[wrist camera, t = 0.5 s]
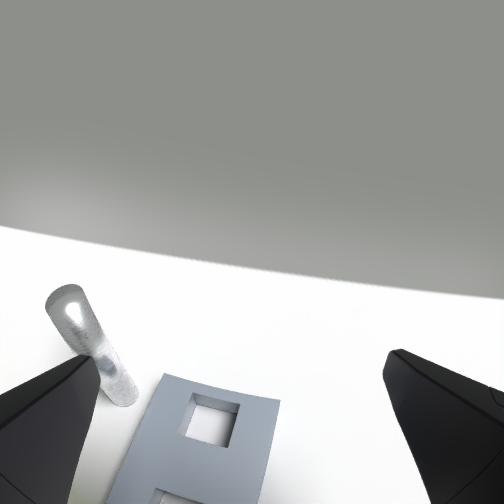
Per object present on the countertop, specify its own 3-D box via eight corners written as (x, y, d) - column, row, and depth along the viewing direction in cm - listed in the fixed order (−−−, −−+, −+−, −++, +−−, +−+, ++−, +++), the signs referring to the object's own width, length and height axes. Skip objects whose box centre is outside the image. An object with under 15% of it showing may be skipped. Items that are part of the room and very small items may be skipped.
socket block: (235, 571, 8) (234, 578, 6) (110, 527, 9) (95, 527, 8) (277, 410, 21) (280, 400, 19) (170, 385, 22) (164, 372, 21)
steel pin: (130, 411, 19) (65, 322, 12) (105, 399, 20) (37, 309, 13) (143, 386, 22) (92, 289, 15) (118, 376, 22) (63, 280, 15)
